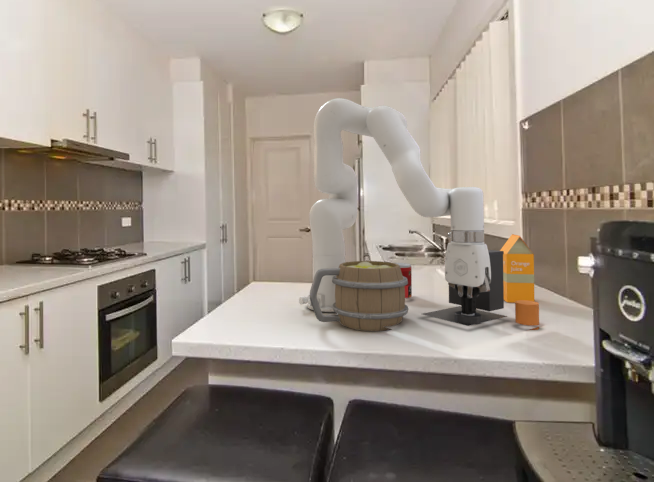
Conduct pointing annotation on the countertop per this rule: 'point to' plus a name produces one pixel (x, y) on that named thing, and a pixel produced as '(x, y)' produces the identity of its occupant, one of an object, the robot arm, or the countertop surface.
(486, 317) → the base
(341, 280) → the mug
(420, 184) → the robot arm
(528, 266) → the orange juice
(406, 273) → the canned food
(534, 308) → the container
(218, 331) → the countertop surface
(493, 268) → the coffee maker
